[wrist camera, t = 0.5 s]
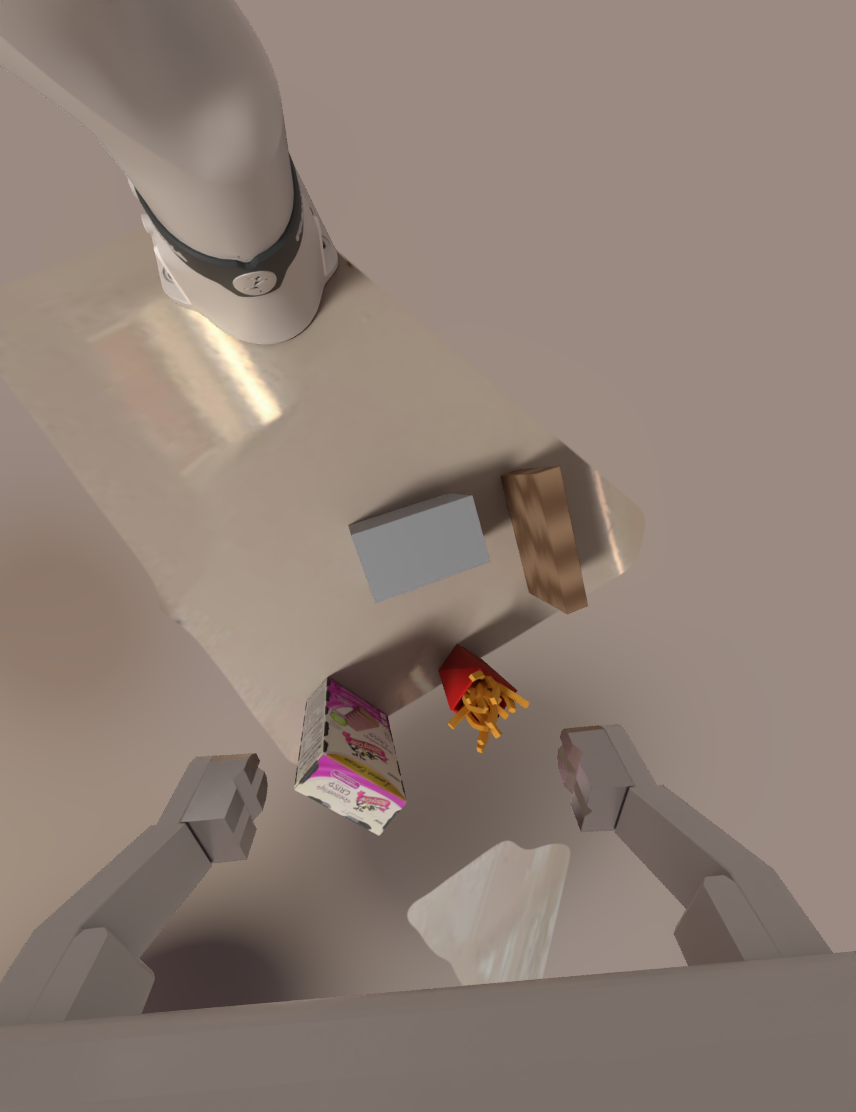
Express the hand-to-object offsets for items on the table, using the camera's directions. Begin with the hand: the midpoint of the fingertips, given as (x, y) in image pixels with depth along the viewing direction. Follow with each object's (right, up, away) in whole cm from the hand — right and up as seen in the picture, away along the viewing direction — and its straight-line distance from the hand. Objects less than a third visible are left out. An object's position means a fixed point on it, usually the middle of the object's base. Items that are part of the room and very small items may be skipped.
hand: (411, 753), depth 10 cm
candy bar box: (-11, -16, +44) cm, 48 cm away
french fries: (+4, -11, +47) cm, 48 cm away
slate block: (-2, +8, +42) cm, 43 cm away
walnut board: (+15, +9, +45) cm, 48 cm away
